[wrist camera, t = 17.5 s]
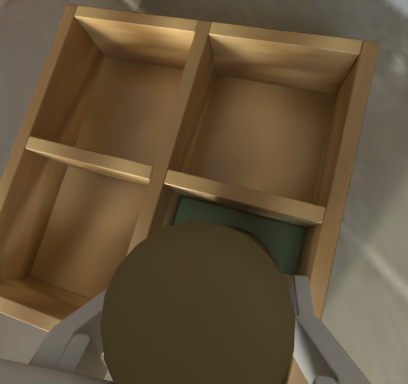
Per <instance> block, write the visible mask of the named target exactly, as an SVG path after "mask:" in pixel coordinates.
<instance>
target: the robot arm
mask: <svg viewBox="0 0 408 384" xmlns="http://www.w3.org/2000/svg"><path fill="white" fill-rule="evenodd" d="M281 274H282V276H283V278H284V279H285V281H286V283H287V285H288V289H289V293H290V297H291V300H292V304H293V308H294V312H295V340H294V352H293V356H294V358H295V360H296V362H297V363H298V365H299V367H300V369H301V371H302V372H303V374H304V376H305V378H306V380H307V381H308V383H309V384H371V383H370V382H369V381H368V379H367V378H366V377H365V376H364V374H363V373H362V372H361V370H360V369H359V368H358V367H357V365H356V364H355V363H354V362H353V360H352V359H351V358H350V357H349V355H348V354H347V353H346V352H345V350H344V349H343V348H342V346H341V345H340V344H339V343H338V341H337V340H336V339H335V338H334V336H333V335H332V334H331V333H330V331H329V330H328V329H327V328H326V326H325V325H324V324H323V322H322V321H321V320H320V319H319V318H316V317H315V316H314V309H313V303H312V296H311V290H310V283H309V278H308V277H307V276H299V275H293V274H283V273H281ZM106 290H107V289H105V290H104V291H103V292H101V293H100V294H98V295H97V296H96V297H94V298H93V299H91V300H90V301H89V302H87V303H86V304H84V305H83V306H82V307H80V308H79V309H77V310H76V311H75V312H73V313H72V314H70V315H69V316H68V317H66V318H65V319H63V320H62V321H61V322H59V323H58V324H56V325H55V326H54V327H52V329H51V330H50V332H49V334H48V335H47V337H46V338H45V340H44V341H43V343H42V344H41V346H40V347H39V349H38V351H37V352H36V354H35V355H34V357H33V358H32V360H31V361H30V363H29V364H24V363H19V362H15V361H10V360H5V359H0V384H114V382H112V381H108V380H104V378H105V375H106V373H107V367H106V365H105V363H104V361H103V359H102V358H101V355H102V354H103V345H102V337H101V328H100V323H101V316H102V309H103V302H104V296H105V293H106Z"/></svg>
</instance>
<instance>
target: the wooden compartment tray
mask: <svg viewBox="0 0 408 384" xmlns="http://www.w3.org/2000/svg"><path fill="white" fill-rule="evenodd" d="M378 46H379V43H377V42H369V41H363V42H362V40H355V39H347V38H339V37H331V36H322V35H314V34H306V33H298V32H290V31H282V30H274V29H266V28H258V27H249V26H241V25H233V24H225V23H217V22H212V23H211V22H208V21H198V20H192V19H184V18H176V17H168V16H159V15H151V14H143V13H135V12H127V11H119V10H111V9H103V8H95V7H86V6H77V5H70V4H67V6H66V8H65V11H64V14H63V16H62V19H61V22H60V24H59V27H58V30H57V32H56V35H55V38H54V40H53V43H52V45H51V48H50V51H49V53H48V56H47V59H46V61H45V64H44V67H43V69H42V72H41V75H40V77H39V80H38V82H37V85H36V88H35V90H34V93H33V96H32V98H31V101H30V104H29V106H28V109H27V112H26V114H25V117H24V120H23V122H22V125H21V127H20V130H19V133H18V135H17V138H16V141H15V143H14V146H13V149H12V151H11V154H10V157H9V159H8V162H7V165H6V167H5V170H4V172H3V175H2V178H1V180H0V312H1V313H3V314H6V315H8V316H11V317H13V318H16V319H18V320H21V321H23V322H25V323H28V324H30V325H33V326H35V327H38V328H40V329H43V330H45V331H48V332H50V330H51V329H52V327H54V326H55V325H56V324H58V323H59V322H61V321H62V320H63V319H65V318H66V317H68V316H69V315H70V314H72V313H73V312H75V311H76V310H77V309H79V308H80V307H82V306H83V305H84V304H86V303H87V302H89V301H90V300H91V299H93V298H94V297H96V296H97V295H98V294H100V293H101V292H103V291H104V290H105V289H107V288H108V286H109V284H110V282H111V279H112V277H113V275H114V273H115V271H116V268H117V267H118V266H119V264H120V263H121V262H122V261H123V260H124V259H125V258H126V256H127V255H128V254H129V253H130V252H131V251H132V250H133V248H134V247H135V246H136V245H137V244H139V243H140V242H141V241H143V240H145V239H146V238H148V237H149V236H151V235H153V234H154V233H156V232H158V231H159V230H161V229H163V228H164V227H168V226H173V225H177V224H181V223H185V222H190V221H196V222H207V223H218V224H221V225H227V226H237V227H239V228H242V229H244V230H246V231H249V232H251V233H252V234H253V235H255V236H256V237H257V238H258V239H259V240H260V241H262V242H263V243H264V245H265V247H266V248H267V250H268V251H269V253H270V255H271V256H272V259H273V262H274V263H275V265H276V266H277V268H278V270H279V271H280V273H283V274H293V275H299V276H307V277H308V278H309V283H310V290H311V296H312V303H313V309H314V316H315V317H316V318H319V319H320V320H321V317H322V312H323V308H324V303H325V298H326V293H327V289H328V284H329V279H330V274H331V270H332V265H333V260H334V255H335V251H336V246H337V241H338V236H339V232H340V227H341V222H342V217H343V213H344V208H345V203H346V198H347V194H348V189H349V184H350V179H351V175H352V170H353V165H354V160H355V156H356V151H357V146H358V141H359V137H360V132H361V127H362V122H363V118H364V113H365V108H366V103H367V99H368V94H369V89H370V84H371V80H372V75H373V70H374V65H375V61H376V56H377V51H378ZM103 354H104V353H103ZM282 384H308V381H307V380H306V378H305V376H304V374H303V372H302V371H301V369H300V367H299V365H298V363H297V362H296V360H295V358H294V356H293V355H292V358H291V361H290V364H289V366H288V369H287V372H286V374H285V377H284V380H283V382H282Z"/></svg>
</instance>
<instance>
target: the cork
mask: <svg viewBox="0 0 408 384" xmlns="http://www.w3.org/2000/svg"><path fill="white" fill-rule="evenodd" d="M100 328H101V337H102V345H103V353H104V360H105V363H106V365H107V368H108V370H109V372H110V375H111V377H112V379H113V382H114V384H282V382H283V380H284V377H285V374H286V372H287V369H288V366H289V364H290V361H291V358H292V355H293V352H294V340H295V312H294V308H293V304H292V300H291V297H290V293H289V289H288V285H287V283H286V281H285V279H284V278H283V276H282V274H281V273H280V271H279V270H278V268H277V266H276V265H275V263H274V262H273V259H272V256H271V255H270V253H269V251H268V250H267V248H266V247H265V245H264V243H263V242H262V241H260V240H259V239H258V238H257V237H256V236H255V235H253V234H252V233H251V232H249V231H246V230H244V229H242V228H239V227H237V226H227V225H221V224H218V223H207V222H196V221H190V222H185V223H181V224H177V225H173V226H168V227H164V228H163V229H161V230H159V231H158V232H156V233H154V234H153V235H151V236H149V237H148V238H146V239H145V240H143V241H141V242H140V243H139V244H137V245H136V246H135V247H134V248H133V250H132V251H131V252H130V253H129V254H128V255H127V256H126V258H125V259H124V260H123V261H122V262H121V263H120V264H119V266H118V267H117V268H116V271H115V273H114V275H113V277H112V279H111V282H110V284H109V286H108V288H107V290H106V293H105V296H104V302H103V309H102V316H101V323H100Z"/></svg>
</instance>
